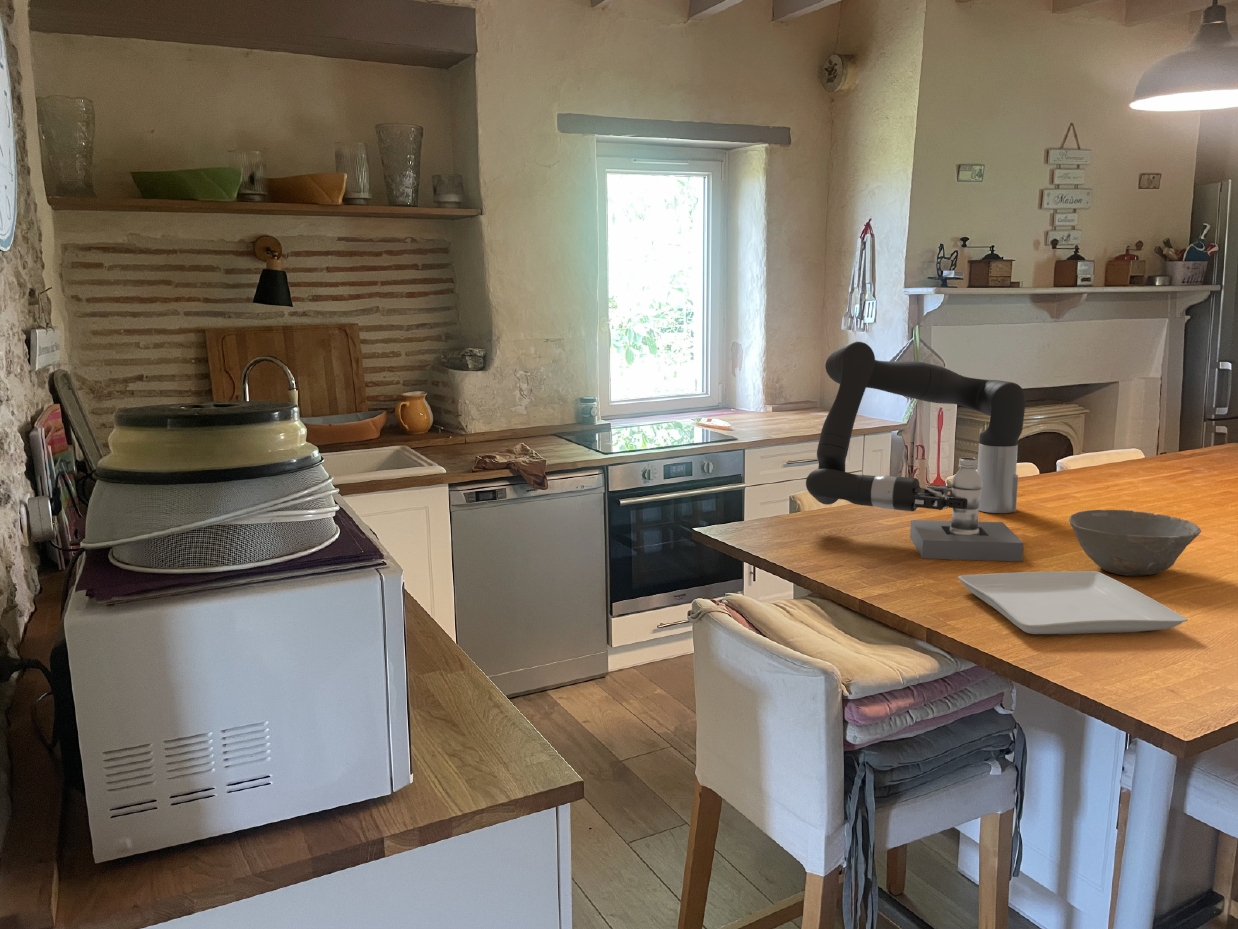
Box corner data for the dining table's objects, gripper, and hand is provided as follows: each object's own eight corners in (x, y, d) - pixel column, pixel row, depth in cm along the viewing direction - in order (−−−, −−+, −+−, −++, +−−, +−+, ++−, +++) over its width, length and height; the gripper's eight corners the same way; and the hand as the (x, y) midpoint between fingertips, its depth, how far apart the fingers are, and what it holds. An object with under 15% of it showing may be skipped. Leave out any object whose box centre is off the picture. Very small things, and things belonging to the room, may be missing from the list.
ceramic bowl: (1040, 562, 188) (1043, 515, 186) (1123, 550, 195) (1126, 505, 194) (1134, 594, 167) (1138, 541, 165) (1222, 579, 175) (1227, 528, 173)
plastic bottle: (974, 544, 202) (979, 456, 198) (983, 552, 195) (988, 461, 192) (944, 544, 202) (948, 456, 199) (952, 552, 196) (956, 461, 192)
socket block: (1001, 539, 206) (1002, 522, 205) (1022, 561, 188) (1023, 543, 188) (910, 536, 209) (910, 519, 208) (922, 558, 192) (922, 540, 191)
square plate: (1095, 588, 172) (1097, 568, 171) (1189, 641, 145) (1191, 618, 145) (954, 591, 171) (955, 571, 171) (1022, 645, 144) (1024, 622, 144)
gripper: (887, 482, 198) (965, 489, 190) (903, 471, 210) (977, 477, 202) (886, 515, 199) (963, 524, 191) (902, 503, 211) (976, 510, 203)
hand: (970, 500), depth 196 cm, fingers open, 8 cm apart
